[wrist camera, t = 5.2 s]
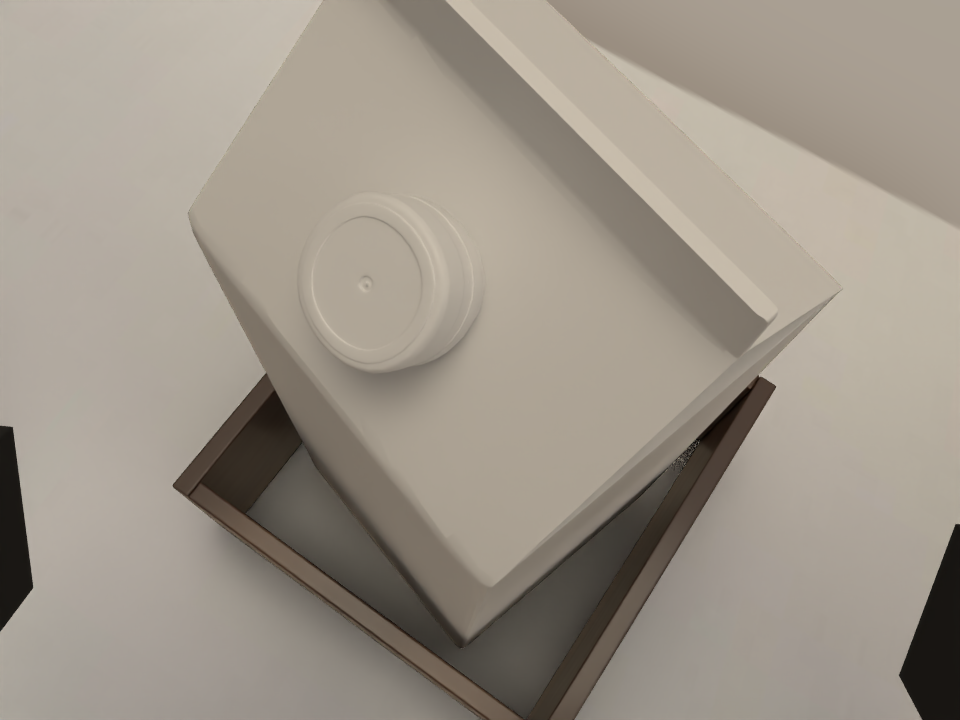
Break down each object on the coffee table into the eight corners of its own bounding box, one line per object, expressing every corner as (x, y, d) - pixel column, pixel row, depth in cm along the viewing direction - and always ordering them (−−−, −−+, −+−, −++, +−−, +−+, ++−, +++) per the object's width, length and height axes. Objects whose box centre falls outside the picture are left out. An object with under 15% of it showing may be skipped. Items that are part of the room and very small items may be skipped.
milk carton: (491, 326, 30) (568, -237, 12) (641, 495, 28) (996, 131, 10) (311, 462, 28) (84, 37, 10) (460, 652, 26) (504, 544, 8)
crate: (722, 437, 29) (777, 386, 24) (526, 753, 25) (547, 764, 21) (435, 252, 30) (434, 170, 26) (217, 523, 27) (171, 485, 22)
